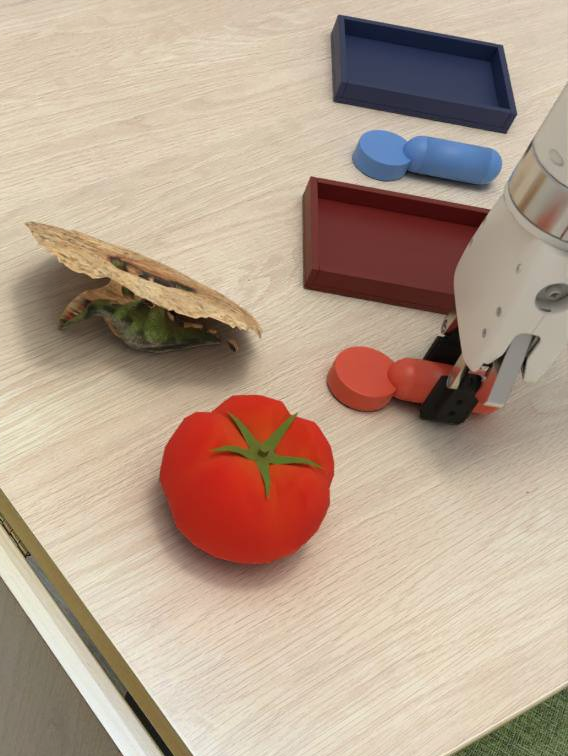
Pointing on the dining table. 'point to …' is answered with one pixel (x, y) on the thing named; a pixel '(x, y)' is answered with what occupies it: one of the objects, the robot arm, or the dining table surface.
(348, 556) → the dining table surface
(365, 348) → the red spoon
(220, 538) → the tomato
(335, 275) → the red tray
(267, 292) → the dining table surface
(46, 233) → the sandwich
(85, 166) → the dining table surface
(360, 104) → the blue tray
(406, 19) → the dining table surface
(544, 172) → the robot arm
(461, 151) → the blue spoon
